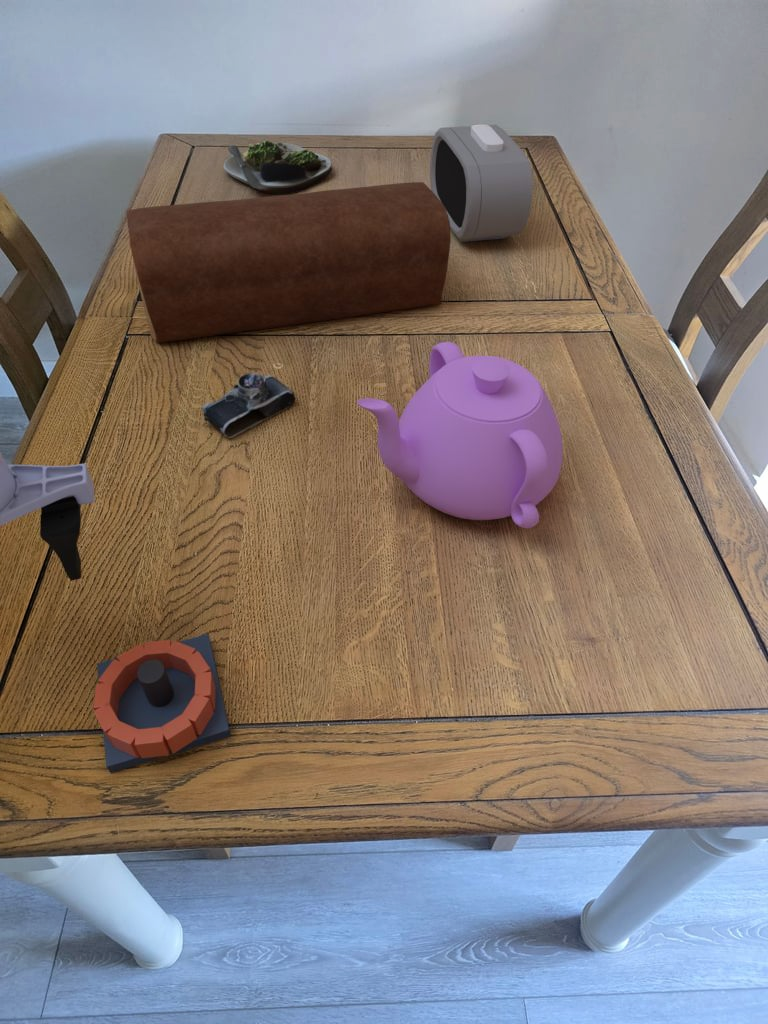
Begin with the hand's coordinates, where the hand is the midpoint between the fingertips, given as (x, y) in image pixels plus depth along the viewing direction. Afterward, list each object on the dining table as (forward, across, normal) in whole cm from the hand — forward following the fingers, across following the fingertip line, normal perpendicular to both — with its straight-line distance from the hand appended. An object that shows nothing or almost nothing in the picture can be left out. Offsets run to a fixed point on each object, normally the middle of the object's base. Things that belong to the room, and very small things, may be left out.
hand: (21, 581), depth 52 cm
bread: (+10, -30, -49) cm, 58 cm away
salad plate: (+9, -37, -89) cm, 96 cm away
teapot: (+10, -39, -10) cm, 41 cm away
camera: (+10, -20, -26) cm, 35 cm away
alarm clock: (+10, -63, -64) cm, 90 cm away
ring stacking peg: (+10, -8, +7) cm, 14 cm away
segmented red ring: (+8, -7, +8) cm, 14 cm away
